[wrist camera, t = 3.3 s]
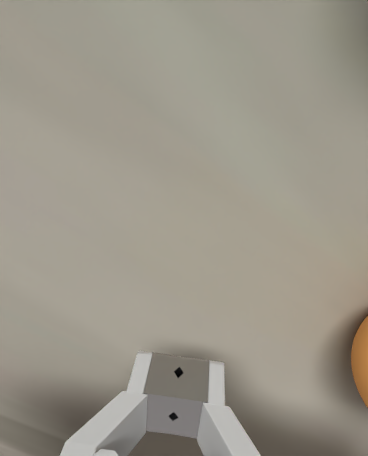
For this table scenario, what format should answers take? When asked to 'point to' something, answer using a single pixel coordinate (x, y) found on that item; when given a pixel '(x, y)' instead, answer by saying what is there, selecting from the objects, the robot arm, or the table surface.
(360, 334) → the ball
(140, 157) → the table surface
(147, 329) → the table surface
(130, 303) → the table surface
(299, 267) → the table surface
